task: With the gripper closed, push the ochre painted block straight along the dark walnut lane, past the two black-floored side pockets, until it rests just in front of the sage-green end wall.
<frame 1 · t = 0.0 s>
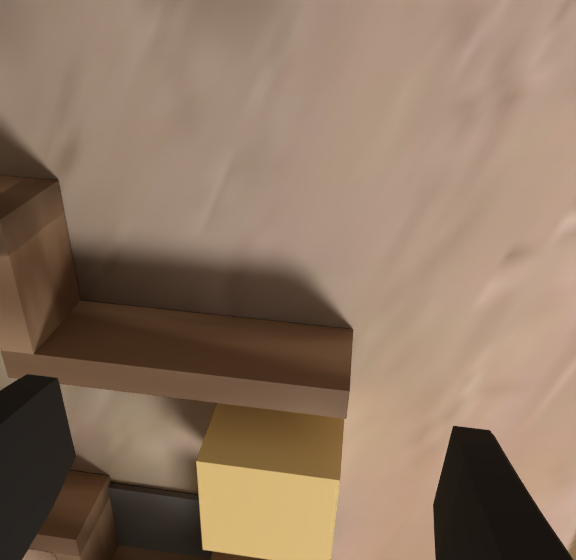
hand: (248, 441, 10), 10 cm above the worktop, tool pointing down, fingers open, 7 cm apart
ochre block: (283, 428, 24), on the worktop
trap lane: (106, 408, 25), on the worktop
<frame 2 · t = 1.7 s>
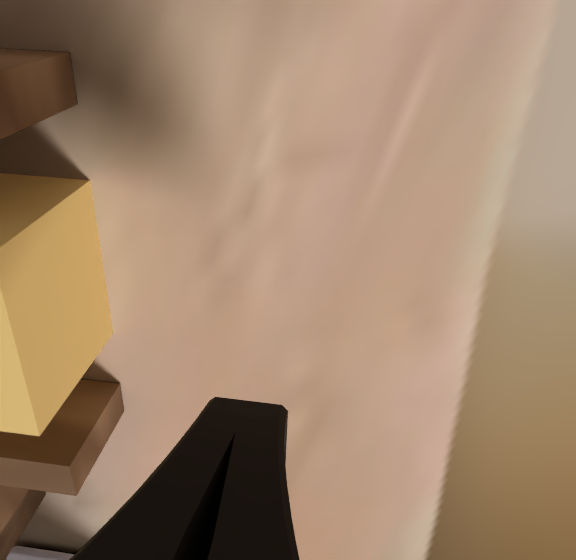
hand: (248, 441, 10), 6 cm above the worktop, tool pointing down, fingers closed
ochre block: (23, 253, 16), on the worktop
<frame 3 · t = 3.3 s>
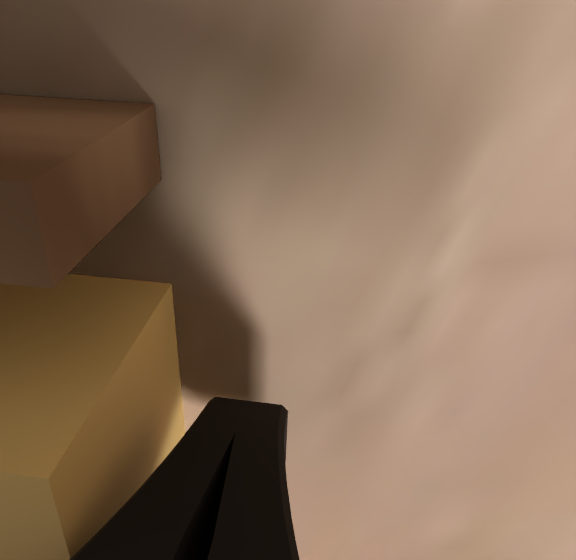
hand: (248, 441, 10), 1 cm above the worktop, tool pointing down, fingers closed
ochre block: (67, 372, 12), on the worktop, touching gripper
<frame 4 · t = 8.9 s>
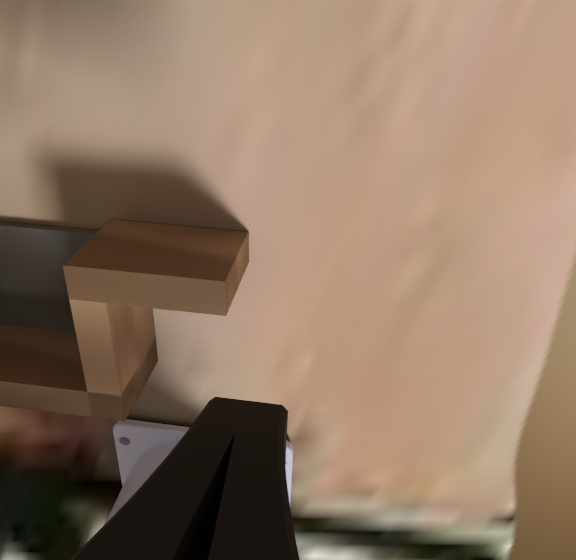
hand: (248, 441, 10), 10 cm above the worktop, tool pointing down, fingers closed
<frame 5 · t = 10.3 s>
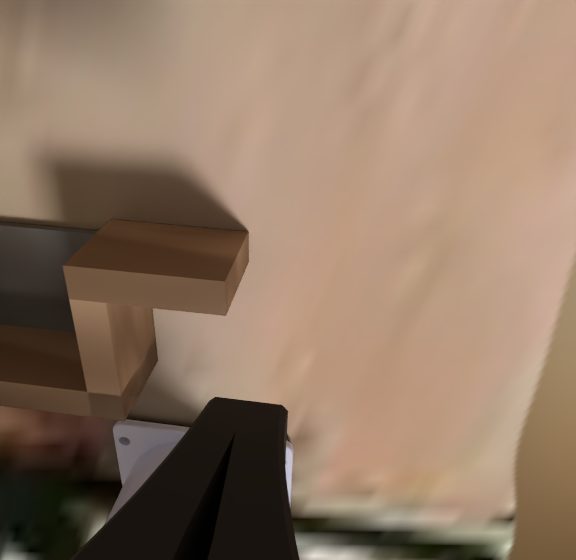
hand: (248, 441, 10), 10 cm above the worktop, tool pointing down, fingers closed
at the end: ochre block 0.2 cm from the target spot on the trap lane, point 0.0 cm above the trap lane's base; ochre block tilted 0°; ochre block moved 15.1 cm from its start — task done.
